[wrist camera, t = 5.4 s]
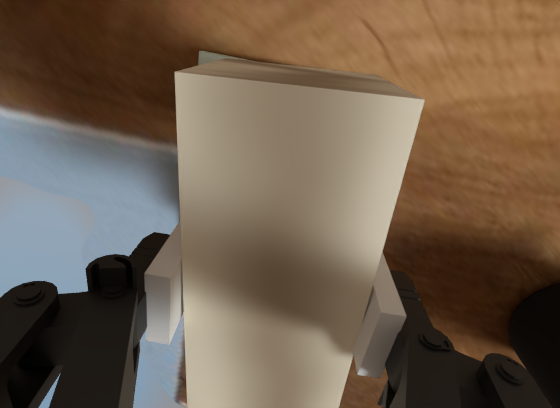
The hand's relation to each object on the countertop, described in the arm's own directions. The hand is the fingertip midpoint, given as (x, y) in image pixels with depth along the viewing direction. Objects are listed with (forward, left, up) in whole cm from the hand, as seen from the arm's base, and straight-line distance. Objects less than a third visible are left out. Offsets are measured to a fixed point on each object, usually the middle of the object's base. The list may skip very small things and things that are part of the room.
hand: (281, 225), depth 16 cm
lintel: (0, 0, -1) cm, 1 cm away
